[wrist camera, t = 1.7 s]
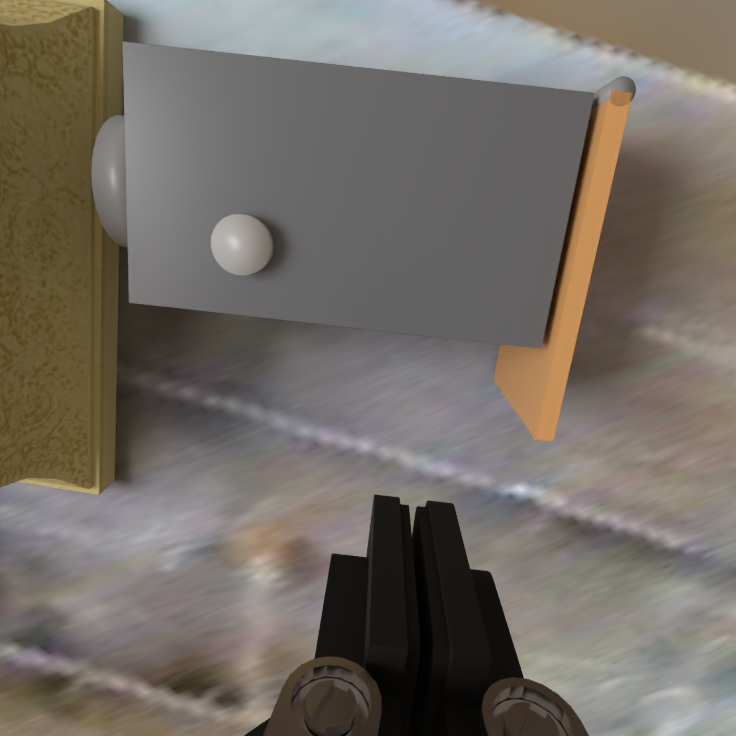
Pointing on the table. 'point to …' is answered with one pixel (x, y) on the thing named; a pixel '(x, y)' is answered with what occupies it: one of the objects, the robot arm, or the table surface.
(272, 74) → the grey box with knob
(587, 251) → the side door
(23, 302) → the decorative clock
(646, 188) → the table surface
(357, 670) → the robot arm
